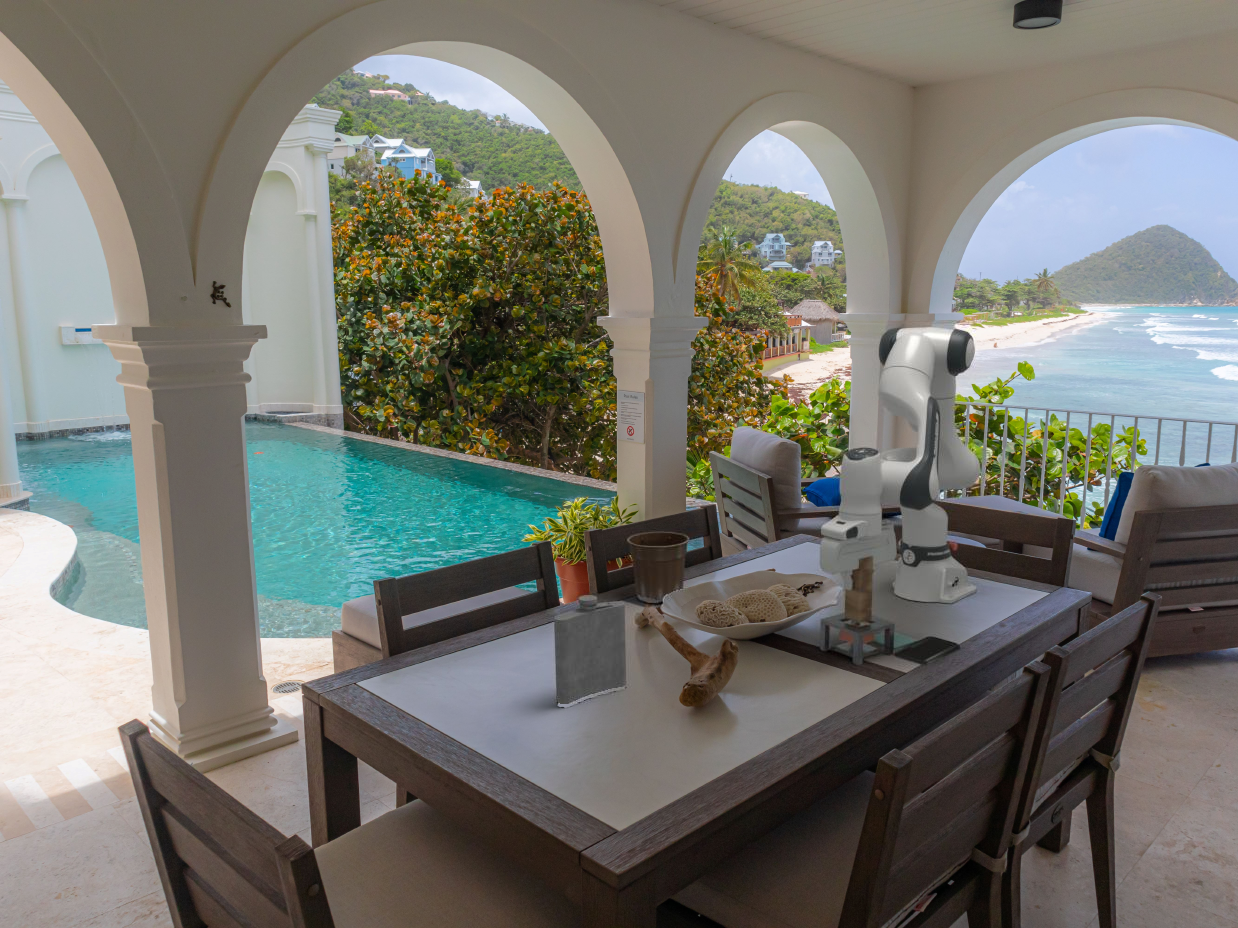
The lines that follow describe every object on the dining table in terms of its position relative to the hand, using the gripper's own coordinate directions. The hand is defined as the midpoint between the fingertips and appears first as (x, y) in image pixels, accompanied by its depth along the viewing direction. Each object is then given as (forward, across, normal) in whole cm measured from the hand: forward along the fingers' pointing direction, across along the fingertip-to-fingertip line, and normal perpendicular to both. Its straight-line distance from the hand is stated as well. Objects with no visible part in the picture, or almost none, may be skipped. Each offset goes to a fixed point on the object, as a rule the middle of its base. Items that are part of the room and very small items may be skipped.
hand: (858, 586), depth 190 cm
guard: (+15, 0, 0) cm, 15 cm away
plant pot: (+15, +13, -57) cm, 60 cm away
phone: (+15, -13, +8) cm, 22 cm away
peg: (+7, 0, 0) cm, 7 cm away
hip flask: (+15, +59, -14) cm, 63 cm away
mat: (+15, -12, 0) cm, 19 cm away
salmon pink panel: (+12, 0, 0) cm, 12 cm away
